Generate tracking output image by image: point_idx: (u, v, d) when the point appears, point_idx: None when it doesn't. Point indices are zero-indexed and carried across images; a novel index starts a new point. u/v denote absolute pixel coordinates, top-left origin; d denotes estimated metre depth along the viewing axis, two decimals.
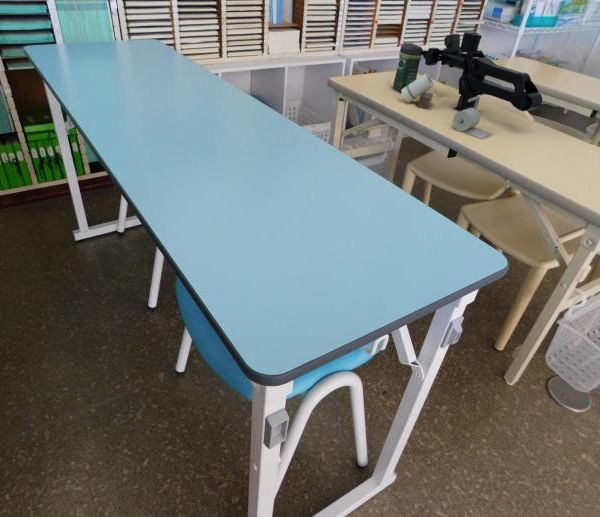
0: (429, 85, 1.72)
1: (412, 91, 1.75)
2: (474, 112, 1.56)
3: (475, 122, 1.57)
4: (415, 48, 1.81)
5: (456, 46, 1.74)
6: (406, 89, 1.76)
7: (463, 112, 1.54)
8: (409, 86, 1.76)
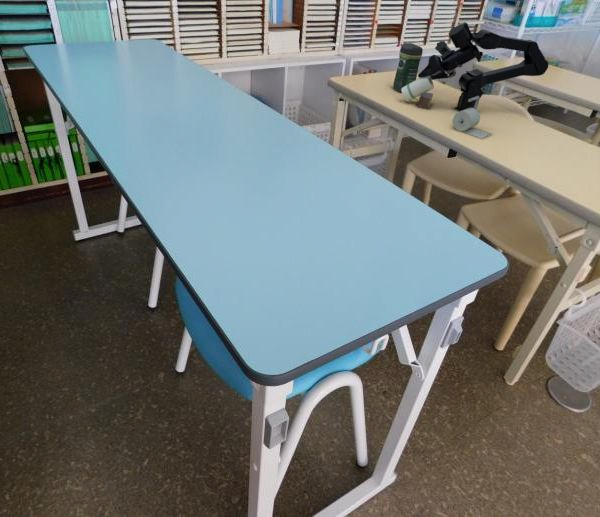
0: (430, 87, 1.72)
1: (413, 92, 1.75)
2: (474, 112, 1.56)
3: (475, 122, 1.57)
4: (415, 48, 1.81)
5: (450, 50, 1.69)
6: (407, 89, 1.75)
7: (463, 112, 1.54)
8: (410, 86, 1.75)
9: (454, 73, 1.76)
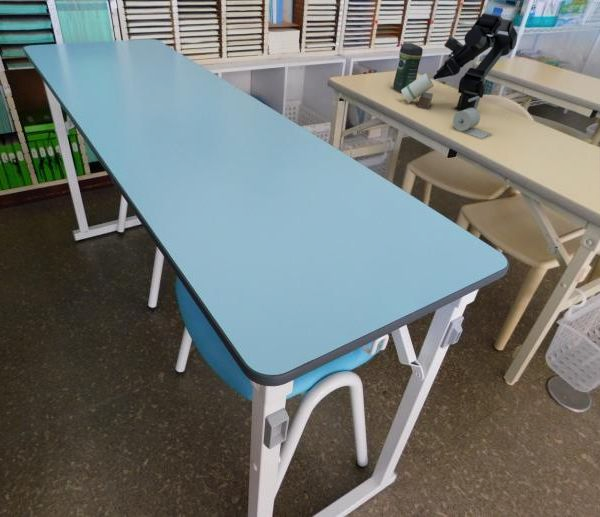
0: (431, 85, 1.73)
1: (414, 92, 1.75)
2: (474, 112, 1.56)
3: (475, 122, 1.56)
4: (415, 48, 1.81)
5: (460, 43, 1.63)
6: (407, 90, 1.76)
7: (463, 112, 1.54)
8: (410, 87, 1.75)
9: None
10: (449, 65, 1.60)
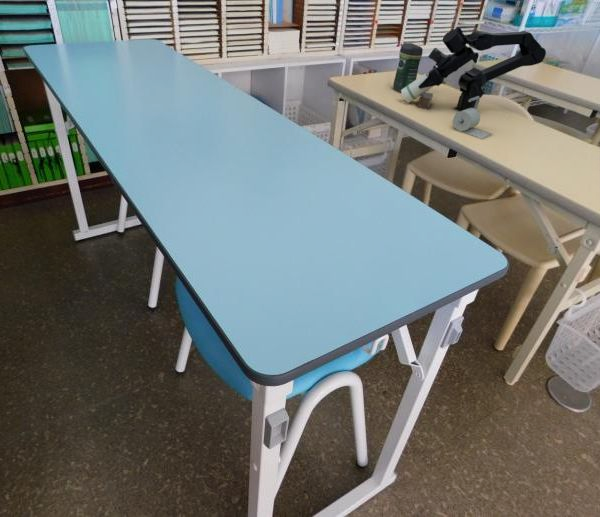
0: (431, 86, 1.73)
1: (414, 93, 1.75)
2: (474, 112, 1.56)
3: (475, 122, 1.56)
4: (415, 48, 1.81)
5: (443, 55, 1.67)
6: (407, 91, 1.76)
7: (463, 112, 1.54)
8: (410, 87, 1.75)
9: None
10: (432, 76, 1.64)
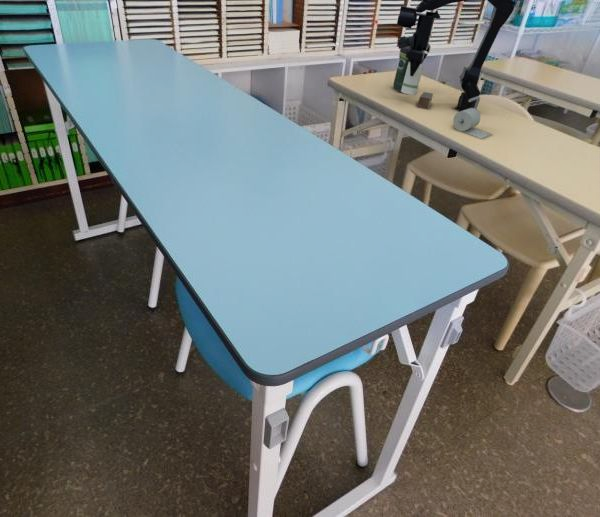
0: (420, 66, 1.70)
1: (411, 83, 1.73)
2: (474, 112, 1.56)
3: (475, 122, 1.56)
4: None
5: (410, 36, 1.68)
6: (405, 86, 1.75)
7: (463, 112, 1.54)
8: (405, 82, 1.74)
9: (429, 45, 1.73)
10: (411, 56, 1.63)
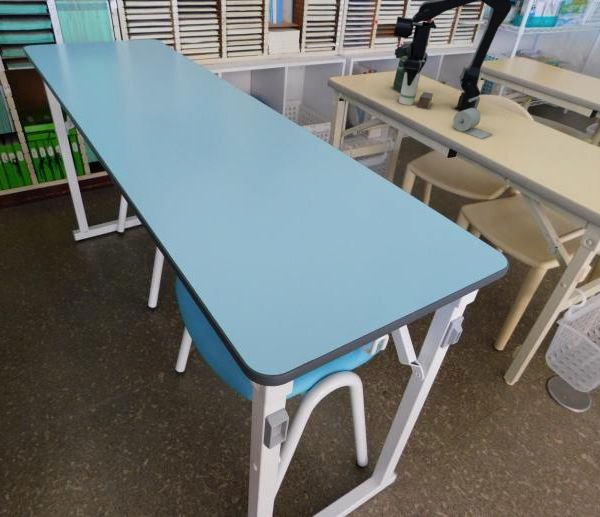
0: (416, 77, 1.72)
1: (408, 94, 1.75)
2: (474, 112, 1.55)
3: (475, 122, 1.56)
4: None
5: (407, 46, 1.70)
6: (402, 97, 1.77)
7: (463, 112, 1.54)
8: (402, 93, 1.77)
9: (426, 54, 1.76)
10: (408, 66, 1.65)
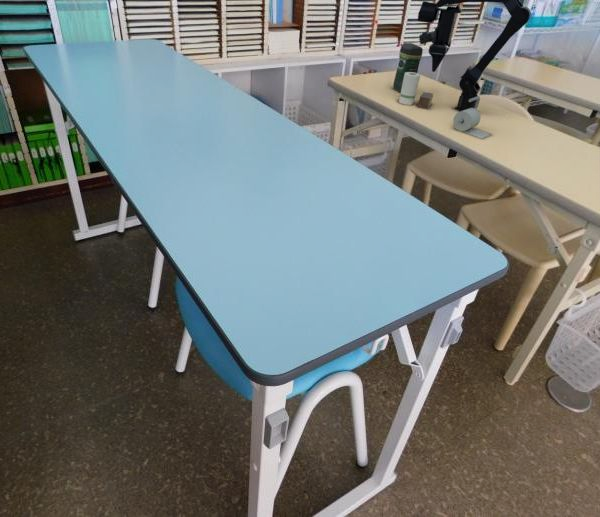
0: (416, 77, 1.72)
1: (408, 94, 1.75)
2: (474, 112, 1.55)
3: (475, 122, 1.56)
4: (415, 48, 1.81)
5: (431, 32, 1.69)
6: (402, 97, 1.77)
7: (463, 112, 1.54)
8: (402, 93, 1.77)
9: (450, 40, 1.75)
10: (434, 51, 1.64)
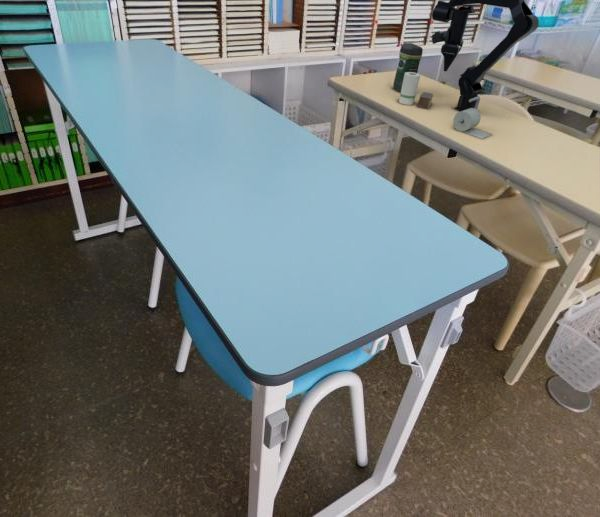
0: (416, 77, 1.72)
1: (408, 94, 1.75)
2: (474, 112, 1.55)
3: (476, 122, 1.56)
4: (415, 48, 1.81)
5: (444, 31, 1.71)
6: (402, 97, 1.77)
7: (464, 112, 1.54)
8: (402, 93, 1.77)
9: (462, 40, 1.76)
10: (446, 51, 1.65)
